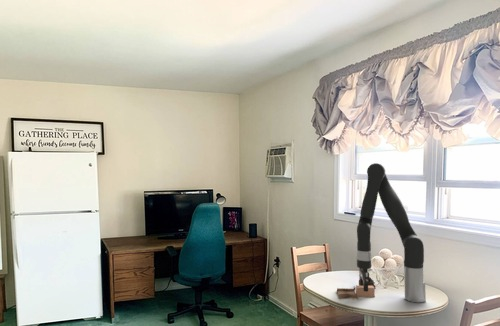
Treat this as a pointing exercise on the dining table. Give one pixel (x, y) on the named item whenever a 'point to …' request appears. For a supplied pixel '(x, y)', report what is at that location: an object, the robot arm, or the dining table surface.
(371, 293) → the light brown block
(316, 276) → the dining table surface
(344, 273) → the dining table surface
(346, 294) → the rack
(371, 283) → the dark brown rounded lump
